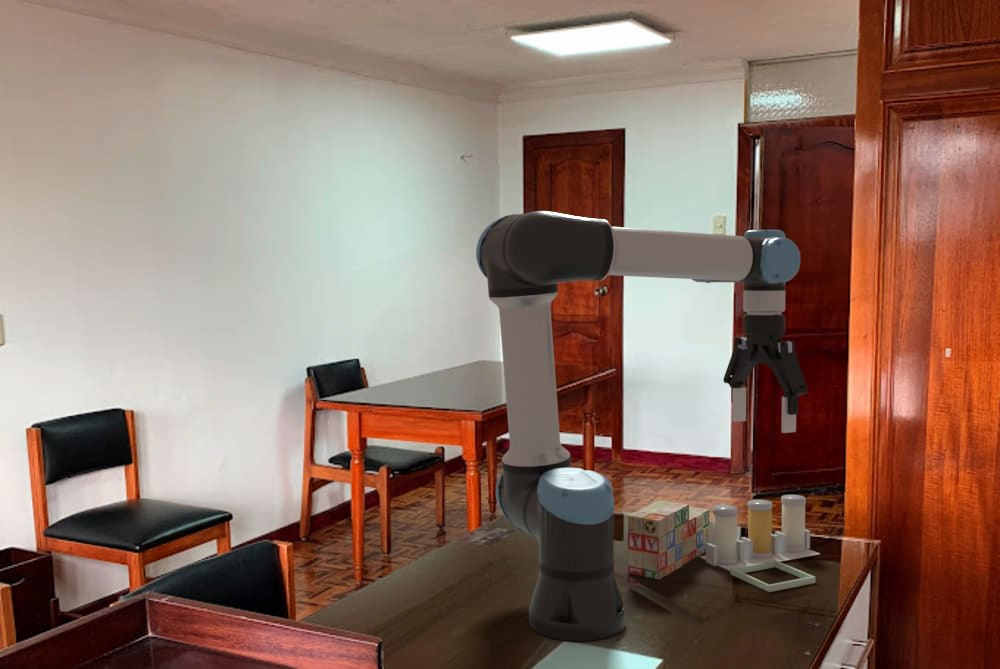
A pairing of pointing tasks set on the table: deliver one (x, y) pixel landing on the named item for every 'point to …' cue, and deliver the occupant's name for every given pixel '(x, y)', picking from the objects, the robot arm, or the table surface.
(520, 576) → the table surface
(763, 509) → the fuse amber
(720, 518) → the ball
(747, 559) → the fuse panel
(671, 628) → the table surface
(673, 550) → the stack of blocks
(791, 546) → the fuse cream far
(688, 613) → the table surface
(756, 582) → the tray
